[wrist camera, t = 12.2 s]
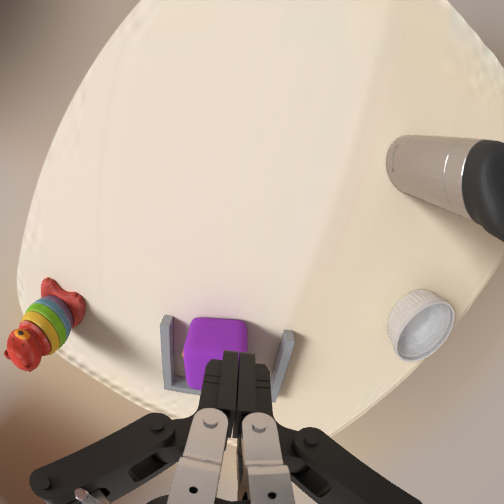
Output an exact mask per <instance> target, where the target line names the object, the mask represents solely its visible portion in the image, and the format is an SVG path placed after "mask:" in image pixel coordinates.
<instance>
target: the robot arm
mask: <svg viewBox="0 0 504 504" xmlns="http://www.w3.org/2000/svg"><path fill="white" fill-rule="evenodd" d="M386 165H387V172H388V176H389V178H390V180H391V182H392V183H393V184H394V186H395V187H396V188H397V189H399V190H400V191H402V192H404V193H407V194H409V195H412V196H415V197H417V198H420V199H422V200H425V201H427V202H430V203H432V204H435V205H437V206H439V207H442V208H444V209H446V210H449V211H451V212H453V213H456V214H458V215H460V216H462V217H465V218H467V219H469V220H471V221H473V222H475V223H477V224H479V225H481V226H483V228H484V229H485V230H486V231H487V232H488V233H490V234H491V235H493V236H495V237H497V238H498V239H500V240H502V241H503V242H504V143H502V142H499V141H493V140H483V139H472V138H459V137H444V136H420V135H407V136H402V137H400V138H398V139H397V140H395V141H394V143H393V144H392V145H391V147H390V149H389V151H388V154H387V161H386ZM238 356H239V360H238ZM232 428H233V436H232V438H237V449H236V462H237V480H238V492H237V501H234V502H230V501H226V500H223V499H219V498H216V496H217V490H218V484H219V478H220V472H221V467H222V461H223V455H224V451H225V450H226V445H227V439H228V438H231V434H232ZM176 462H178V465H177V469H176V472H175V476H174V480H173V483H172V487H171V490H170V494H169V495H165V496H161V497H158V498H156V499H154V500H151V501H150V502H148V503H147V504H295V500H294V494H293V489H292V484H291V481H292V482H293V483H295V485H297V486H298V487H299V488H300V489H301V490H302V491H303V492H305V493H306V494H307V495H308V496H309V497H310V498H312V499H313V500H314V501H316V502H317V503H318V504H422V503H421V502H420V501H419V500H418V499H416V498H415V497H413V496H411V495H410V494H408V493H407V492H405V491H404V490H402V489H400V488H399V487H397V486H396V485H394V484H393V483H391V482H390V481H388V480H386V479H385V478H384V477H382V476H381V475H380V474H378V473H377V472H375V471H374V470H372V469H371V468H370V467H368V466H367V465H365V464H364V463H363V462H361V461H360V460H359V459H357V458H356V457H355V456H353V455H352V454H351V453H349V452H348V451H347V450H345V449H344V448H343V447H342V446H340V445H339V444H338V443H336V442H335V441H334V440H332V439H331V438H330V437H329V436H328V435H326V434H325V433H324V432H323V431H321V430H319V429H317V428H313V427H307V428H303V429H301V430H299V431H296V430H292V429H288V428H285V427H283V426H281V425H280V424H279V423H277V421H276V420H275V419H274V417H273V411H272V397H271V382H270V372H269V370H268V368H267V367H266V365H265V364H255V353H250V352H240V353H239V351H230V350H224V352H223V360H217V359H211V360H210V361H209V362H208V364H207V365H206V367H205V373H204V378H203V384H202V390H201V395H200V401H199V406H198V409H197V411H196V412H195V413H194V414H193V415H192V416H190V417H188V418H184V419H175V420H171V419H170V418H169V417H168V416H166V415H165V414H162V413H150V414H147V415H145V416H144V417H142V418H140V419H138V420H137V421H135V422H133V423H131V424H129V425H128V426H126V427H124V428H122V429H120V430H118V431H116V432H115V433H113V434H111V435H109V436H107V437H105V438H103V439H101V440H99V441H97V442H95V443H93V444H91V445H89V446H87V447H85V448H83V449H81V450H79V451H77V452H75V453H73V454H71V455H69V456H66V457H64V458H62V459H60V460H57V461H55V462H53V463H50V464H48V465H46V466H43V467H41V468H38V469H36V470H35V471H33V473H32V474H31V475H30V486H31V488H32V490H33V492H34V493H35V494H36V495H37V496H39V497H40V498H42V499H43V500H44V501H45V502H46V503H48V504H112V503H111V502H113V501H115V500H117V499H118V498H120V497H122V496H124V495H126V494H127V493H129V492H131V491H132V490H134V489H136V488H138V487H139V486H141V485H143V484H144V483H146V482H147V481H149V480H151V479H152V478H154V477H155V476H157V475H158V474H160V473H162V472H163V471H164V470H166V469H168V468H169V467H171V466H172V465H173V464H175V463H176Z"/></svg>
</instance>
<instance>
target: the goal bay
mask: <svg viewBox="0 0 504 504" xmlns="http://www.w3.org/2000/svg"><path fill="white" fill-rule="evenodd" d="M160 334H161V352H162V366H163V378H164V389H166V390H171V391H176V392H182V393H188V394H195V395H201V390H196V389H192V388H190V387H189V386H188V384H187V381H186V377H180V376H175V375H174V351H173V316H169V315H164V317H163V319H162V322H161V324H160ZM294 343H295V339H294V334H293V331H291V330H284V333H283V336H282V340H281V344H280V347H279V351H278V355H277V358H276V362H275V365H274V369H273V373H272V376H271V379H270V382H271V397H272V402H276V399H277V396H278V393H279V390H280V387H281V384H282V381H283V378H284V375H285V372H286V369H287V366H288V363H289V360H290V356H291V353H292V350H293V347H294Z"/></svg>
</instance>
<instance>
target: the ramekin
mask: <svg viewBox="0 0 504 504" xmlns="http://www.w3.org/2000/svg"><path fill="white" fill-rule="evenodd" d="M454 319H455V313H454V309H453V307H452V306H451V305H450V304H449V302H447V301H446V300H444V299H441V298H440V297H438V296H437V295H435V294H433V293H432V292H430V291H427V290H415V291H412V292H410V293H408V294H406V295H404V296H403V297H402V298H401V299H399V300H398V302H397V303H396V304H395V305H394V307H393V308H392V310H391V312H390V314H389V317H388V321H387V331H388V335H389V337H390V340H391V342H392V344H393V348H394V351H395V353H396V354H397V356H398V357H399V358H400V359H401V360H403V361H406V362H415V361H419V360H422V359H424V358H426V357H428V356H430V355H431V354H432V353H434V352H435V351H436V350H437V349H438V348H439V347H440V346H441V345H442V344H443V343H444V342H445V340H446V339H447V337H448V336H449V334H450V332H451V330H452V327H453V324H454Z"/></svg>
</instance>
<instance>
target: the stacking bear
mask: <svg viewBox="0 0 504 504" xmlns="http://www.w3.org/2000/svg"><path fill="white" fill-rule="evenodd" d="M84 314H85V301H84V300H83V298H82V297H81V296H80V295H79V294H77V293H76V292H66V291H64V290H63V289H61V288H60V287H59V286H58V285H57V283H56V282H55V281H54V280H53V279H50V278H49V277H48V278H46V279H44V280H43V281H42V284H41V299H39V300H37V301H36V302H34V303H33V304H32V305H31V306H30V307H29V308H28V309H27V311H26V313H25V315H24V316H23V318H22V321H21V323H20V325H19V329H16V330H14V331H12V332H11V334H10V335H9V338H8V341H7V350H6V351H5V352H4V355H5V357H6V358H7V359H11V360H12V362H13V363H14V364H15V365H16V366H17V367H18V368H19V369H21V370H24V371H29V372H31V371H32V370H34V369H35V368H37V367H38V365H39V363H40V361H41V357H42V356H45V355H50V354H52V353H54V352H55V351H56V350H57V349H59V348H60V347H61V346H62V345H63V344H64V343H65V341H66V340H67V338H68V336H69V334H70V331H71V328H73V327H75V326H77V325H78V324H79V323H80V322H81V320H82V319H83V317H84Z"/></svg>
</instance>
